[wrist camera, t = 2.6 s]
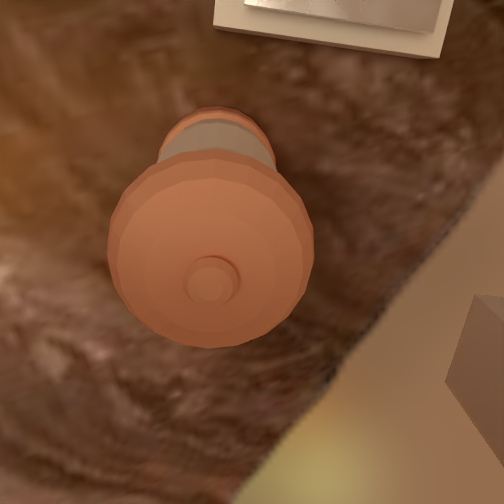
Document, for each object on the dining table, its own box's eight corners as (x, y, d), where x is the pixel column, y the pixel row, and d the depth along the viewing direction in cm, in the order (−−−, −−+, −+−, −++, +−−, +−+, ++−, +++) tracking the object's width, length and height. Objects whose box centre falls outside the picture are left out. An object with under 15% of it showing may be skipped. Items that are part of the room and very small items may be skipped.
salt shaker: (288, 130, 30) (380, 219, 13) (248, 228, 33) (277, 418, 15) (183, 87, 29) (120, 119, 11) (149, 192, 31) (52, 355, 14)
